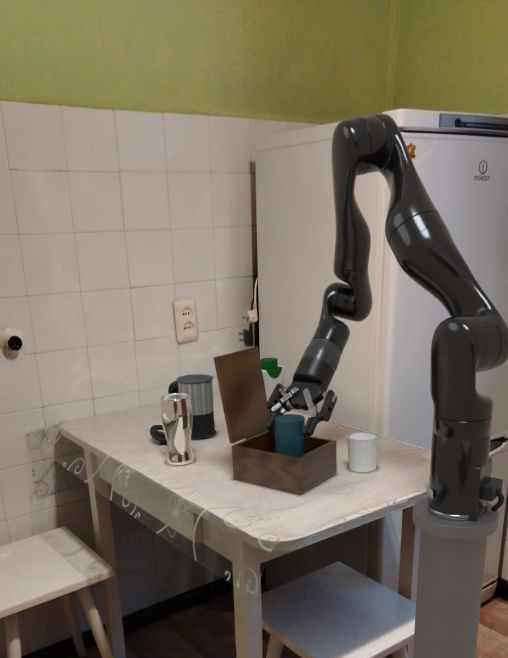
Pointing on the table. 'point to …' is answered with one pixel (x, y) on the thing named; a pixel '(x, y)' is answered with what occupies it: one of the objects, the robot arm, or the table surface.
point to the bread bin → (283, 463)
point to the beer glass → (177, 427)
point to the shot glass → (362, 451)
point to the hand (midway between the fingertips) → (287, 433)
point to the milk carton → (271, 378)
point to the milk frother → (193, 405)
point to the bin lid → (242, 393)
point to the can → (290, 435)
